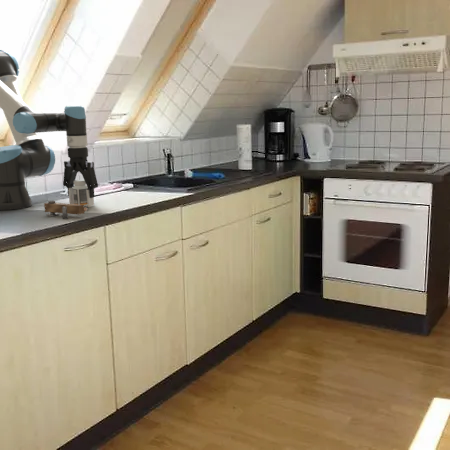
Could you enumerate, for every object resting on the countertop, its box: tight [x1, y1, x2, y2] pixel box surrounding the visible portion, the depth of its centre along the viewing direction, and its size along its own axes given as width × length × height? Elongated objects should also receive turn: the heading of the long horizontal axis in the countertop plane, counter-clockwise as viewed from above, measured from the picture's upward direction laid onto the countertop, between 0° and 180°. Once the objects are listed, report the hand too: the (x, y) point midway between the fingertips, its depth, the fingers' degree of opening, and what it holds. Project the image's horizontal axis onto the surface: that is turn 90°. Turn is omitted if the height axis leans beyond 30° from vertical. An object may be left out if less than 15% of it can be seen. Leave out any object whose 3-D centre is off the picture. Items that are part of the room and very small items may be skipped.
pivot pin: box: [46, 212, 60, 217], centre depth 210 cm, size 4×4×1 cm
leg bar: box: [43, 200, 85, 216], centre depth 207 cm, size 16×2×4 cm, turn 63°
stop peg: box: [61, 207, 69, 220], centre depth 203 cm, size 2×2×4 cm
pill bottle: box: [72, 179, 88, 207], centre depth 227 cm, size 6×6×10 cm
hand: (81, 205), depth 228 cm, fingers open, 9 cm apart
